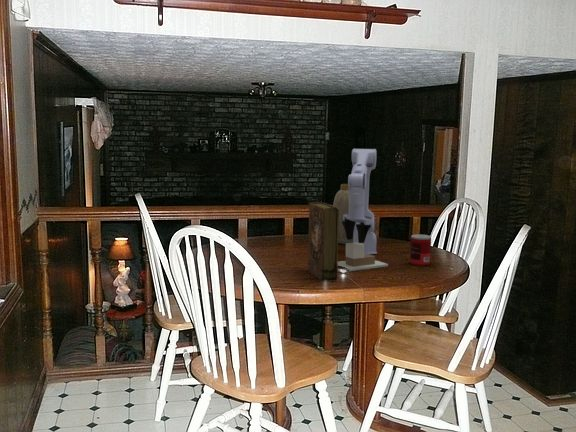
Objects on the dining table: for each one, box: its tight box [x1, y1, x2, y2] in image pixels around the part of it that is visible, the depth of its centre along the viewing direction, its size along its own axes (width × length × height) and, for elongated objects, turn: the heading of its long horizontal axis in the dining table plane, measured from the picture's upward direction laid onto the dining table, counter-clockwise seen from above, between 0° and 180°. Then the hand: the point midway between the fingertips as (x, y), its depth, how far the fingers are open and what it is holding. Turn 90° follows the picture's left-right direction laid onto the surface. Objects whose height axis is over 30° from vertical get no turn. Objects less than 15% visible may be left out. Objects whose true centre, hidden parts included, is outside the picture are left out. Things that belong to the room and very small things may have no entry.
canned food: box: [409, 234, 432, 267], centre depth 215 cm, size 8×8×11 cm
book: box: [307, 201, 339, 281], centre depth 194 cm, size 16×6×25 cm, turn 17°
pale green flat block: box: [338, 254, 389, 272], centre depth 211 cm, size 18×12×4 cm, turn 119°
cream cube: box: [345, 242, 364, 259], centre depth 208 cm, size 5×5×5 cm
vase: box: [332, 183, 370, 245], centre depth 256 cm, size 17×17×27 cm
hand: (355, 241), depth 208 cm, fingers open, 7 cm apart
